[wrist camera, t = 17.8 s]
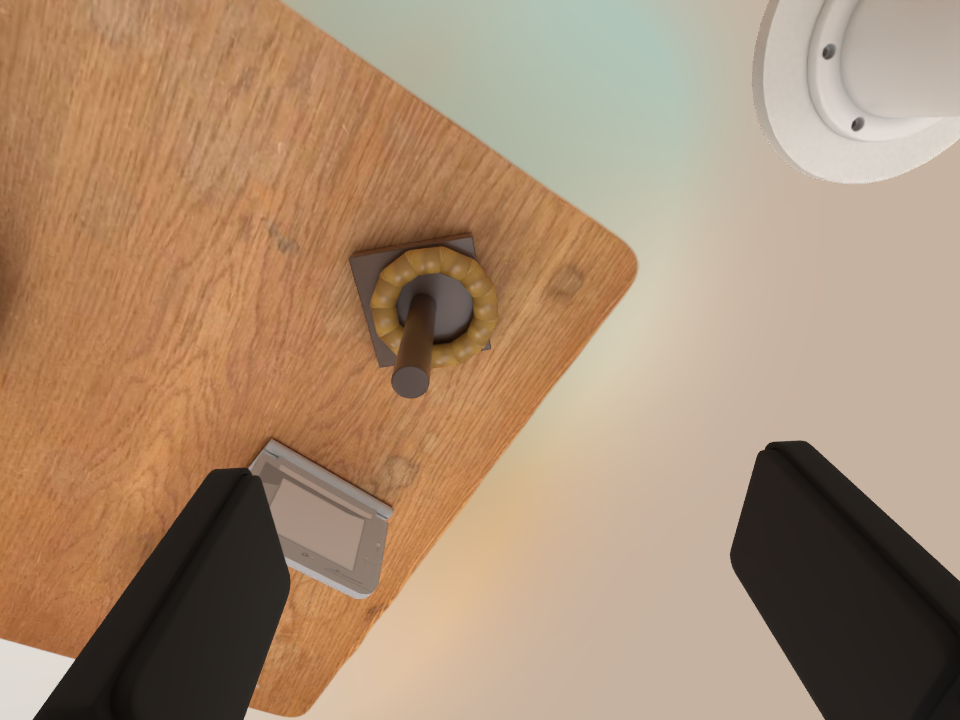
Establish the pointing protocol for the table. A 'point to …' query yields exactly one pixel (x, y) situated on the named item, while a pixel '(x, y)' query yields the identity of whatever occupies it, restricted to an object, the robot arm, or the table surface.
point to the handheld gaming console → (323, 521)
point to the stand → (417, 311)
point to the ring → (450, 266)
